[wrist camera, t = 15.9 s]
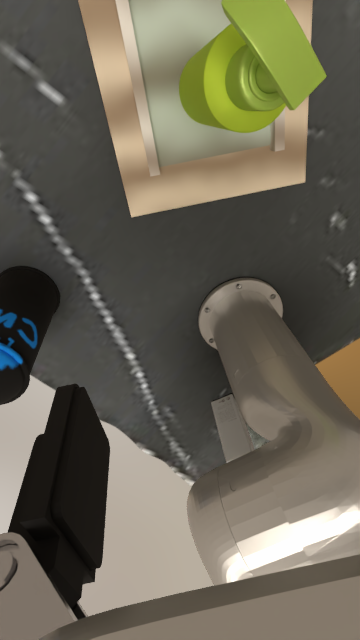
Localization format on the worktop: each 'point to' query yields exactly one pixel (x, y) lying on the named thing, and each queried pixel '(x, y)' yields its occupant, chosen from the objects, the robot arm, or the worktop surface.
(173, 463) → the worktop surface
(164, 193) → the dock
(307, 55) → the soap dispenser
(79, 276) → the worktop surface
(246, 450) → the skincare box
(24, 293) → the aerosol can
